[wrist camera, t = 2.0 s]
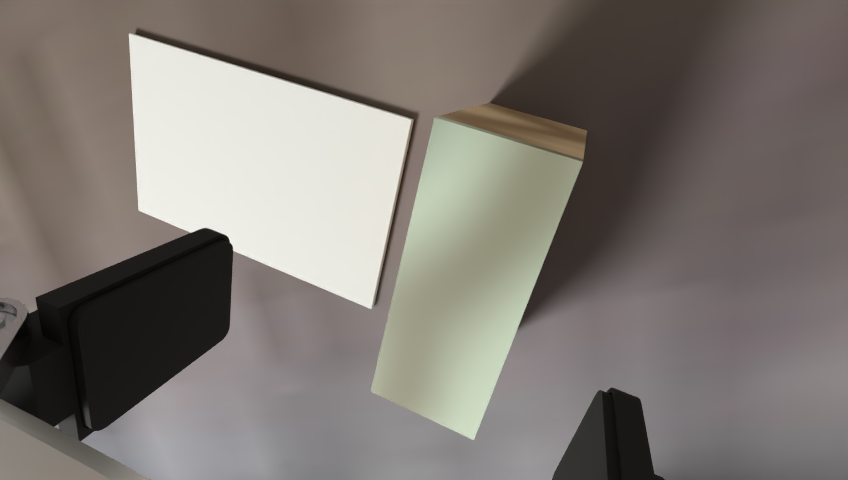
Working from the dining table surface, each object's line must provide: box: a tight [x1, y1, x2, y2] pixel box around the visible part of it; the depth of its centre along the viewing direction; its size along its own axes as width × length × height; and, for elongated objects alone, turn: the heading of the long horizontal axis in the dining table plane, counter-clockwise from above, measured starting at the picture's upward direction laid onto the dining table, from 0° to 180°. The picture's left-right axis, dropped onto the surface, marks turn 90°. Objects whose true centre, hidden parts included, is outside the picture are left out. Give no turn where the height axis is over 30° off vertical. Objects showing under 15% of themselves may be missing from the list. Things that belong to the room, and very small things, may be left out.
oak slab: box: [371, 103, 587, 440], centre depth 16 cm, size 4×10×7 cm, turn 166°
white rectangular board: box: [129, 33, 414, 309], centre depth 23 cm, size 16×10×1 cm, turn 76°
